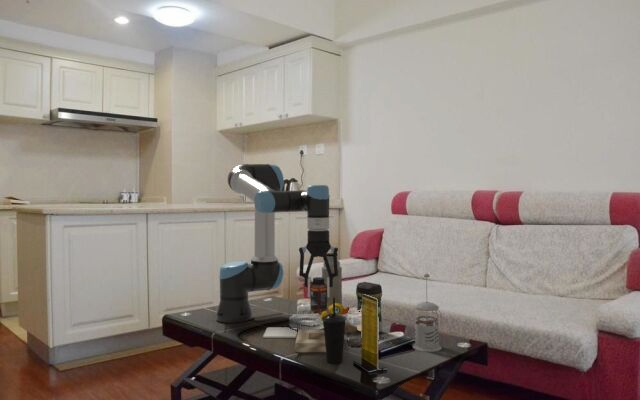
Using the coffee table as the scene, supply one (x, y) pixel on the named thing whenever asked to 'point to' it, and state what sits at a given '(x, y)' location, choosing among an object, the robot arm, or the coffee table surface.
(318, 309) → the supplement bottle
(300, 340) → the bore block
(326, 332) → the drinking cup
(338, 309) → the duckling
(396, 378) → the coffee table surface
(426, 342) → the french press
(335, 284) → the thermos bottle
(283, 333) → the rubber mat
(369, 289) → the coffee jar
